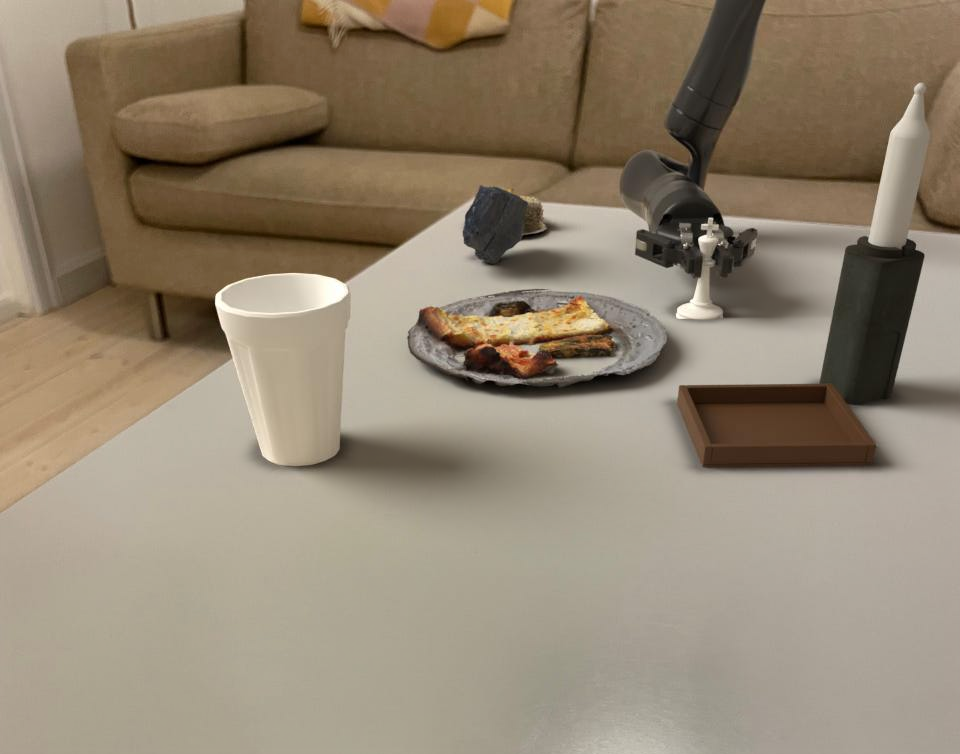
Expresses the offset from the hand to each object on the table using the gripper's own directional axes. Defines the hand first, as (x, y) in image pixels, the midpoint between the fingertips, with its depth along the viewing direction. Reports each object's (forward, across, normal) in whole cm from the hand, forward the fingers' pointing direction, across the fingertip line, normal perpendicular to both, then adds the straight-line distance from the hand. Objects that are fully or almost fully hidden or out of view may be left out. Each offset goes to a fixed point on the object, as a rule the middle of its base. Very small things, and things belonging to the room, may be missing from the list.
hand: (711, 267), depth 104 cm
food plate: (+7, -18, +6) cm, 20 cm away
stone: (-23, -21, +6) cm, 32 cm away
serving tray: (+27, 0, +6) cm, 28 cm away
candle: (+19, +10, +6) cm, 22 cm away
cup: (+29, -38, +6) cm, 48 cm away
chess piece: (-3, 0, +6) cm, 7 cm away
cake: (-38, -19, +6) cm, 43 cm away
